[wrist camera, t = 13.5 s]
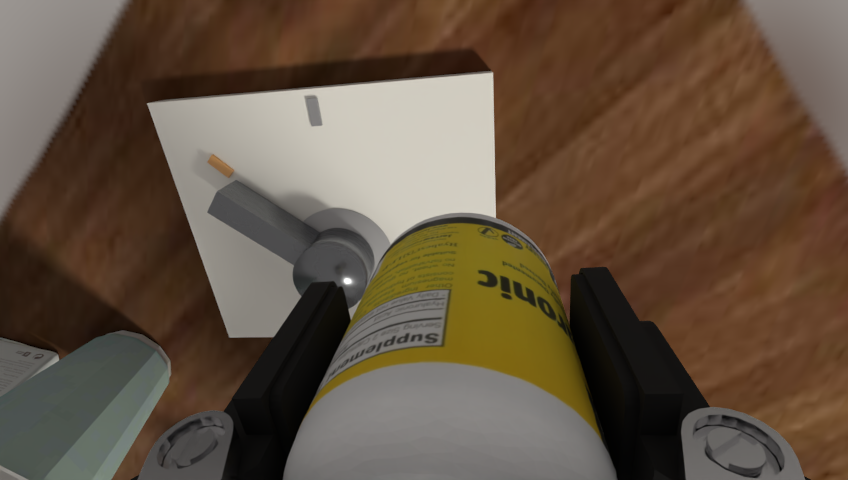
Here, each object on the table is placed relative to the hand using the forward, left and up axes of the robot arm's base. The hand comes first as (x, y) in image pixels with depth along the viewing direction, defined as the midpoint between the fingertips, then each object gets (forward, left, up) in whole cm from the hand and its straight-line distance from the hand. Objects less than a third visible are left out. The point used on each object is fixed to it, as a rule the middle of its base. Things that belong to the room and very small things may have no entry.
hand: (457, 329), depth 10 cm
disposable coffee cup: (+28, +16, -17) cm, 37 cm away
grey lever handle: (+10, +4, -15) cm, 19 cm away
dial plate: (+8, +4, -17) cm, 19 cm away
